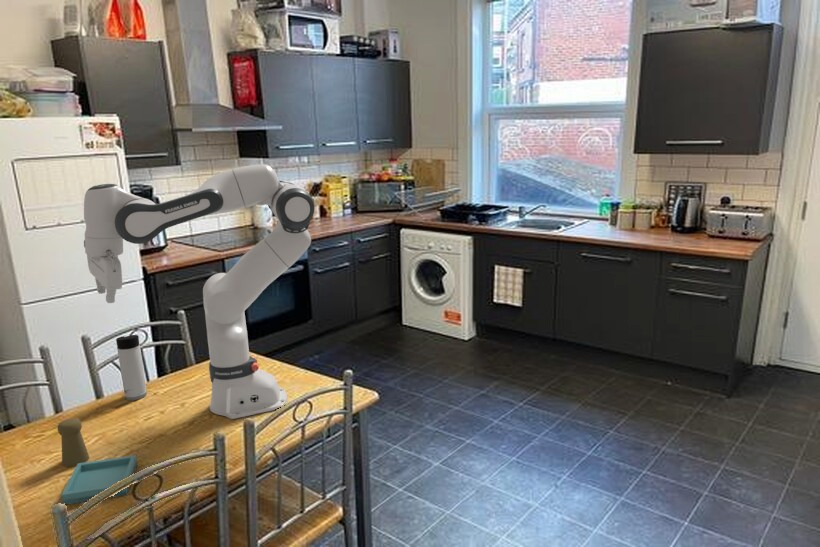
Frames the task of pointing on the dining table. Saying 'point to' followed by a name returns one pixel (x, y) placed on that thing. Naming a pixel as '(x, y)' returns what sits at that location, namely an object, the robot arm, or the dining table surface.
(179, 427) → the dining table surface
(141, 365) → the travel mug
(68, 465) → the brown tapered cylinder
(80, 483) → the tray
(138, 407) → the dining table surface
